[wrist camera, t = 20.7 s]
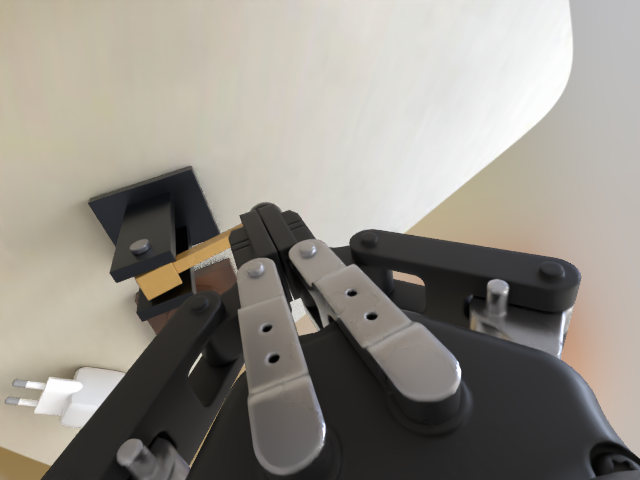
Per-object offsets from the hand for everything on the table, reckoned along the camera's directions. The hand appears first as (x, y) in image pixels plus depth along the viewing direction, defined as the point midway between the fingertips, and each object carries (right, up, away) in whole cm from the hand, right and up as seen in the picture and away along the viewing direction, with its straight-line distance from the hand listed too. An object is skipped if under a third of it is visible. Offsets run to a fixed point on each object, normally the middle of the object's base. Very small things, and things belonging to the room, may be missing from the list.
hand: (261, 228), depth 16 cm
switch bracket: (-14, +2, +23) cm, 28 cm away
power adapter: (-27, -17, +29) cm, 43 cm away
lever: (-7, 0, +17) cm, 19 cm away
